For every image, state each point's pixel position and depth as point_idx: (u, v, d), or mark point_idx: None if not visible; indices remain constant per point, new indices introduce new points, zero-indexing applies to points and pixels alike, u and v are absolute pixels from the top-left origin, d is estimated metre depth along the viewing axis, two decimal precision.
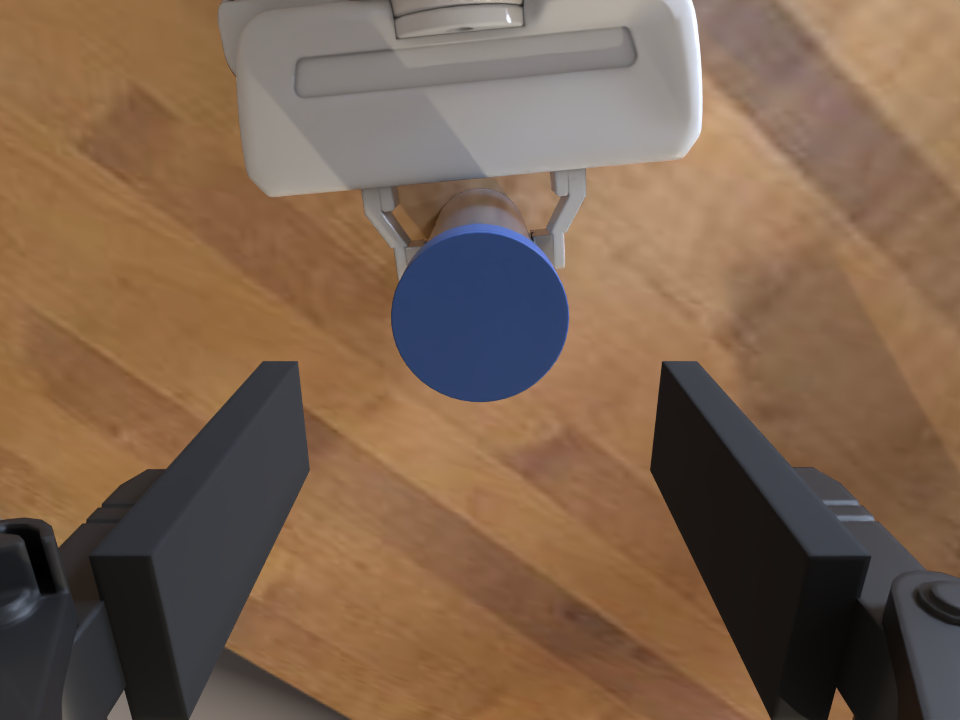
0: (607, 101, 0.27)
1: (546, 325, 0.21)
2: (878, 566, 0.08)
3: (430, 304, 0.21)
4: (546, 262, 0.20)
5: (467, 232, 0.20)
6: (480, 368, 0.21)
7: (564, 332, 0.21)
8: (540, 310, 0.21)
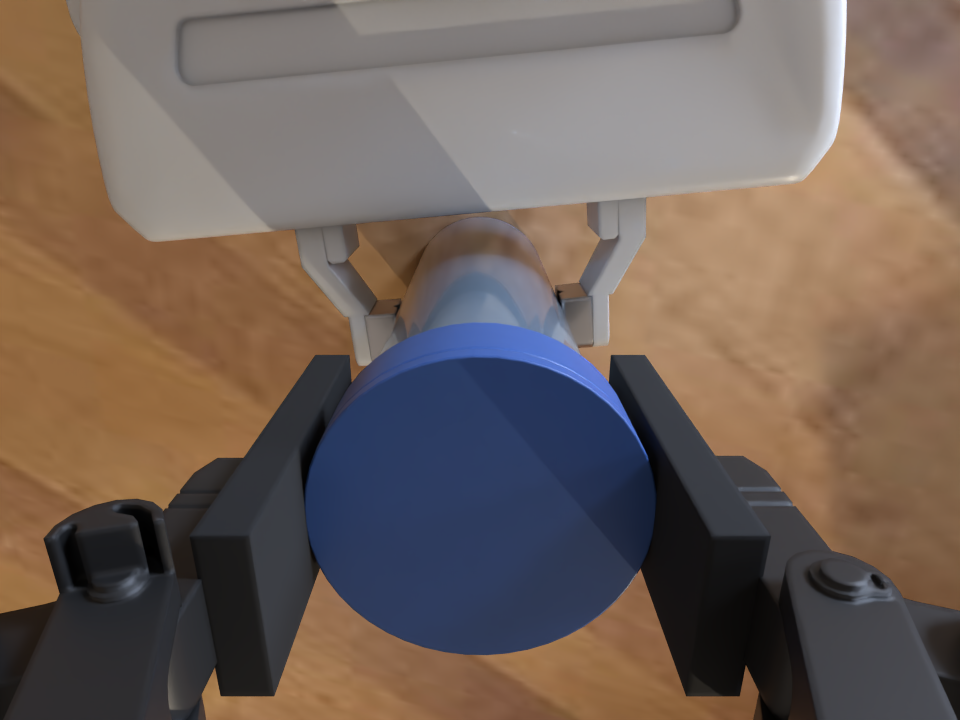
0: (688, 91, 0.16)
1: (611, 527, 0.11)
2: (786, 547, 0.09)
3: (381, 490, 0.10)
4: (616, 413, 0.10)
5: (454, 355, 0.10)
6: (481, 600, 0.11)
7: (646, 539, 0.11)
8: (601, 501, 0.10)
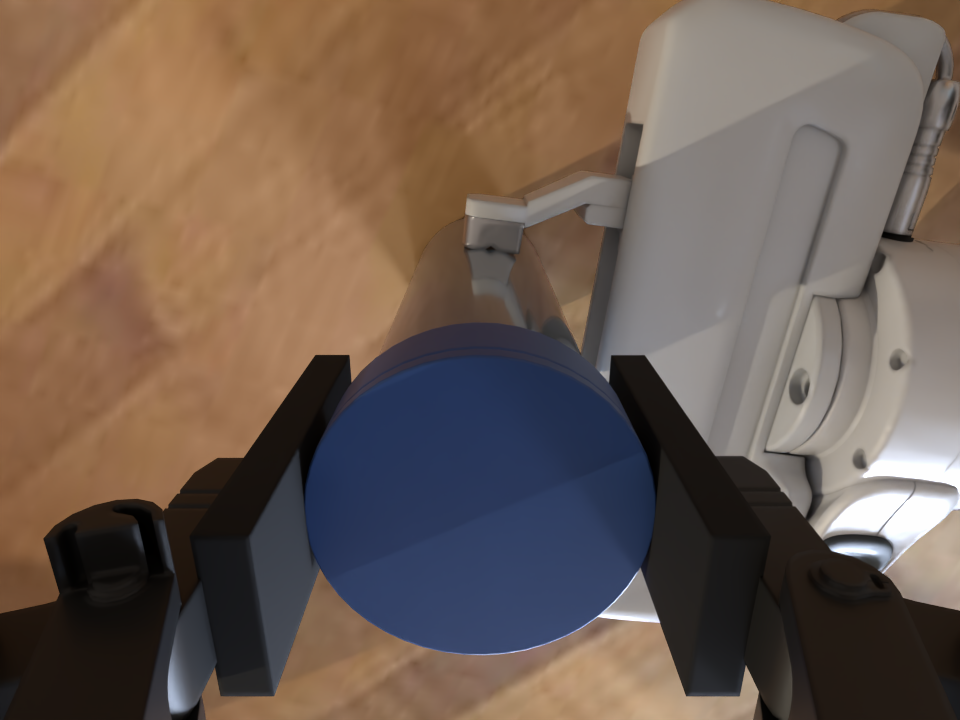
0: None
1: (611, 527, 0.11)
2: (786, 547, 0.09)
3: (381, 490, 0.10)
4: (617, 414, 0.10)
5: (455, 354, 0.10)
6: (480, 600, 0.11)
7: (646, 540, 0.11)
8: (600, 501, 0.10)
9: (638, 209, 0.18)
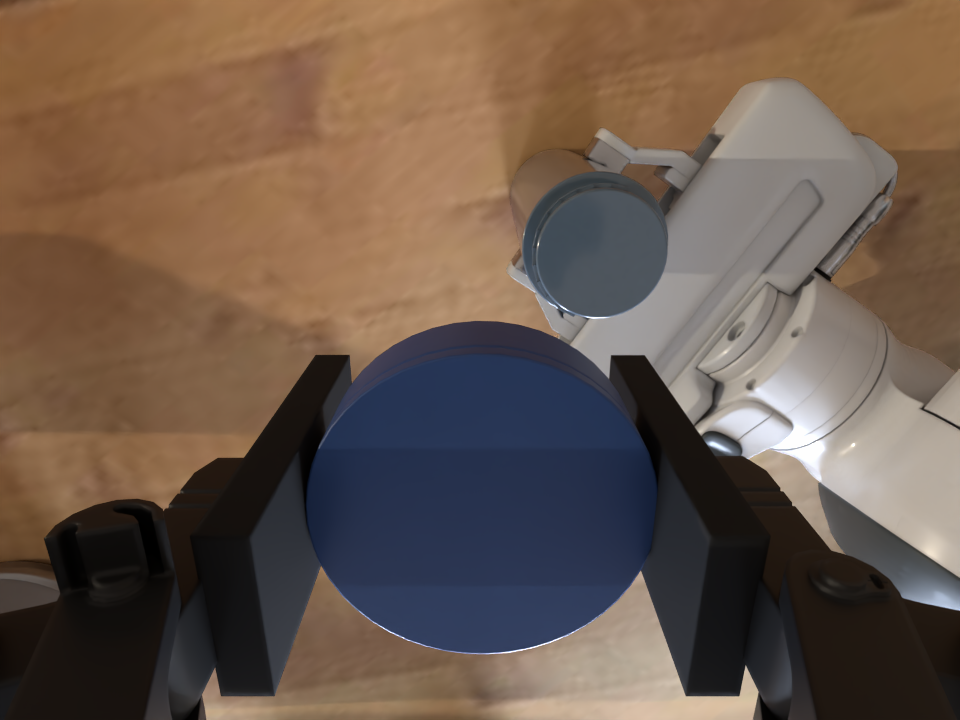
0: None
1: (613, 526, 0.11)
2: (786, 547, 0.09)
3: (383, 489, 0.10)
4: (618, 412, 0.10)
5: (456, 353, 0.10)
6: (483, 599, 0.11)
7: (648, 538, 0.11)
8: (603, 500, 0.10)
9: (699, 182, 0.28)
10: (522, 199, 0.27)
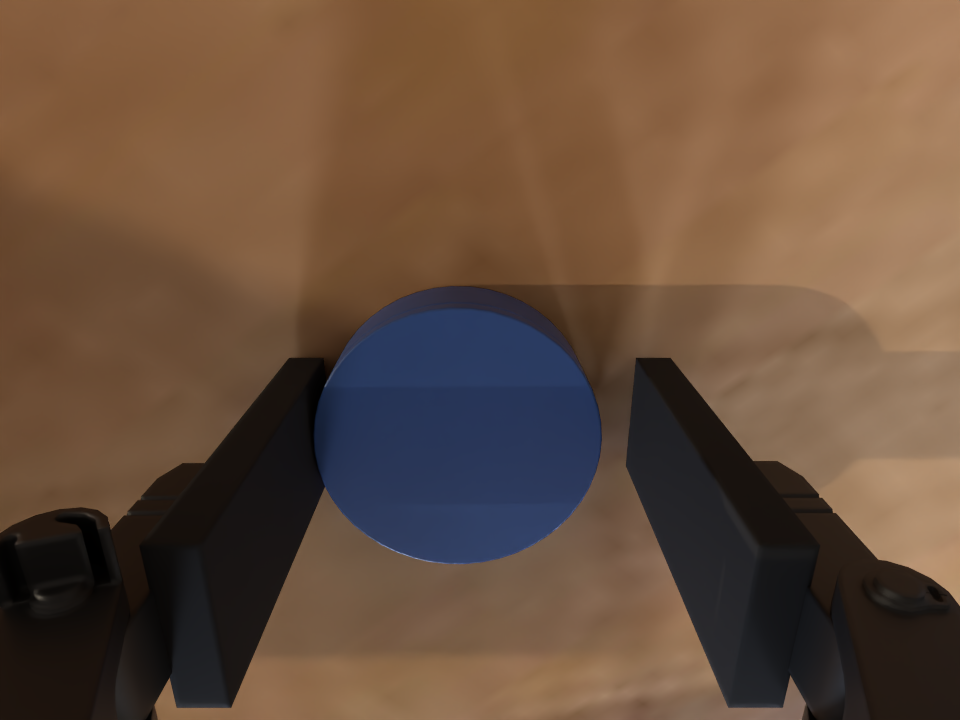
0: None
1: (565, 451, 0.13)
2: (831, 556, 0.08)
3: (377, 421, 0.13)
4: (566, 354, 0.12)
5: (435, 307, 0.12)
6: (460, 515, 0.13)
7: (594, 461, 0.13)
8: (556, 428, 0.13)
9: None
10: None
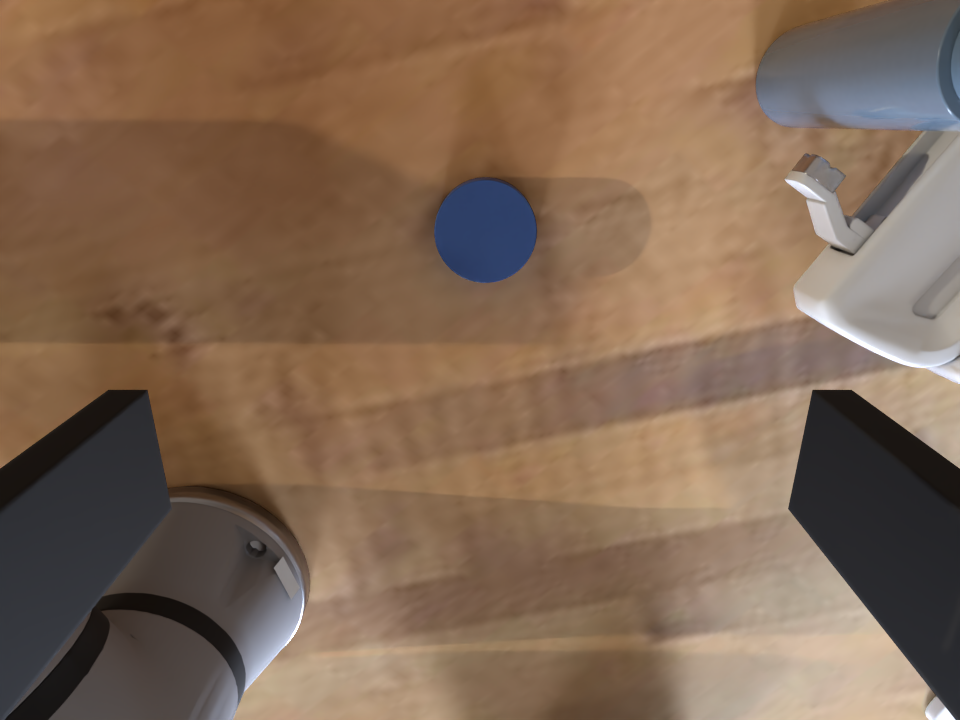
0: (910, 275, 0.31)
1: (523, 235, 0.36)
2: None
3: (457, 222, 0.36)
4: (523, 197, 0.35)
5: (478, 180, 0.35)
6: (485, 261, 0.37)
7: (534, 239, 0.36)
8: (520, 226, 0.36)
9: None
10: (868, 32, 0.25)
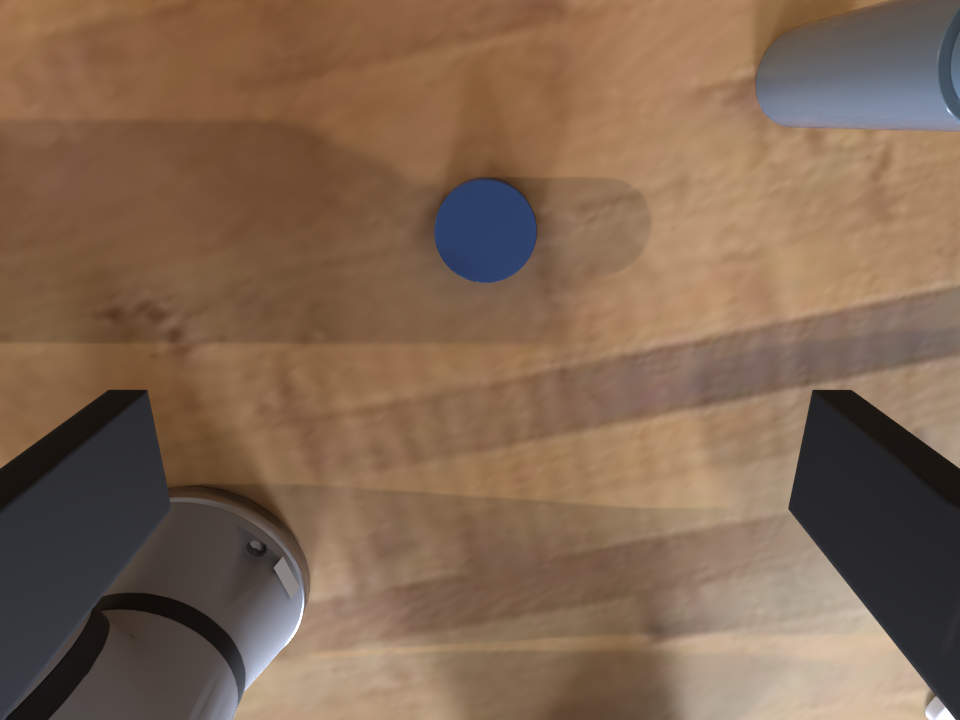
0: None
1: (523, 235, 0.36)
2: None
3: (457, 222, 0.36)
4: (523, 197, 0.35)
5: (478, 180, 0.35)
6: (485, 261, 0.37)
7: (534, 239, 0.36)
8: (520, 226, 0.36)
9: None
10: (868, 32, 0.25)
